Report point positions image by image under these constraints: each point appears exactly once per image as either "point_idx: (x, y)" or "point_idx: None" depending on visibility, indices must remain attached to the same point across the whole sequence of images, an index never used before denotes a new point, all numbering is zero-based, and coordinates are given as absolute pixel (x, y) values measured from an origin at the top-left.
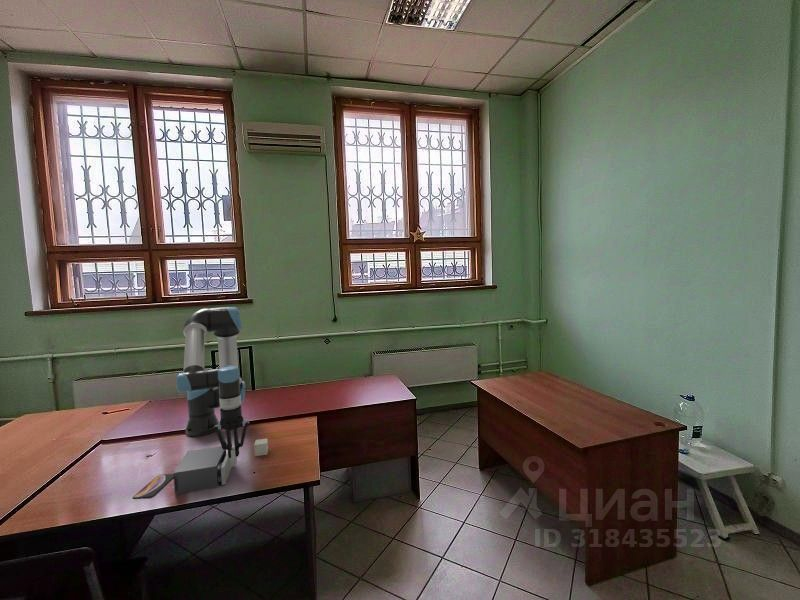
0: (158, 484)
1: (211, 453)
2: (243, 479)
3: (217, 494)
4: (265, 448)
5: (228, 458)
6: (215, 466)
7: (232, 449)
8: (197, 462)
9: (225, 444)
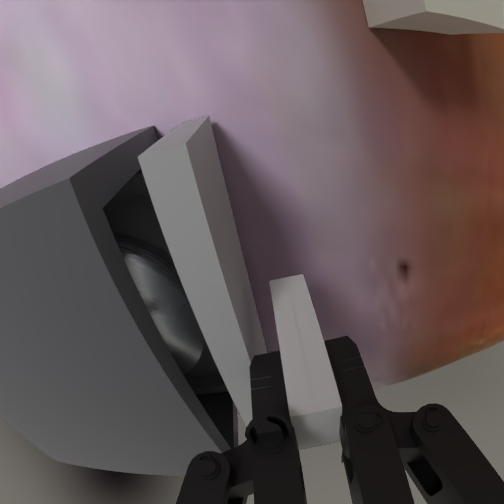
0: None
1: (56, 362)
2: (352, 327)
3: None
4: (475, 30)
5: None
6: None
7: (310, 439)
8: (76, 435)
9: (219, 490)
